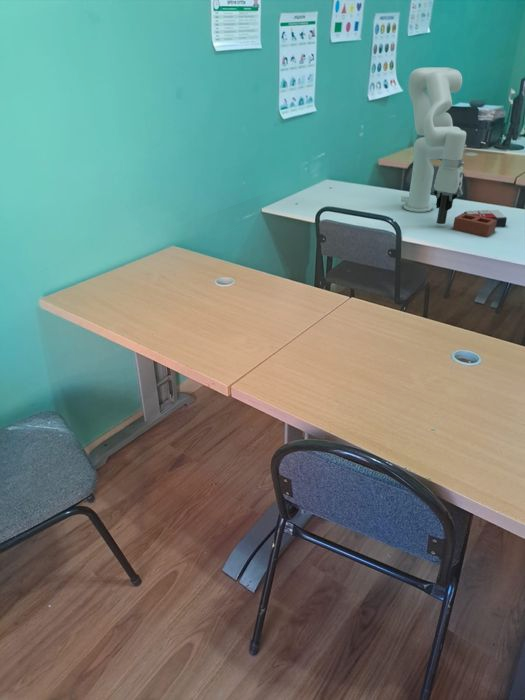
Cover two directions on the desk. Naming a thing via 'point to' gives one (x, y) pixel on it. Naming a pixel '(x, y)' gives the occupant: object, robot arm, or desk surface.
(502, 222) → the calculator
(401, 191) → the desk surface
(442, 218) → the peg
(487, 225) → the hollow brick
